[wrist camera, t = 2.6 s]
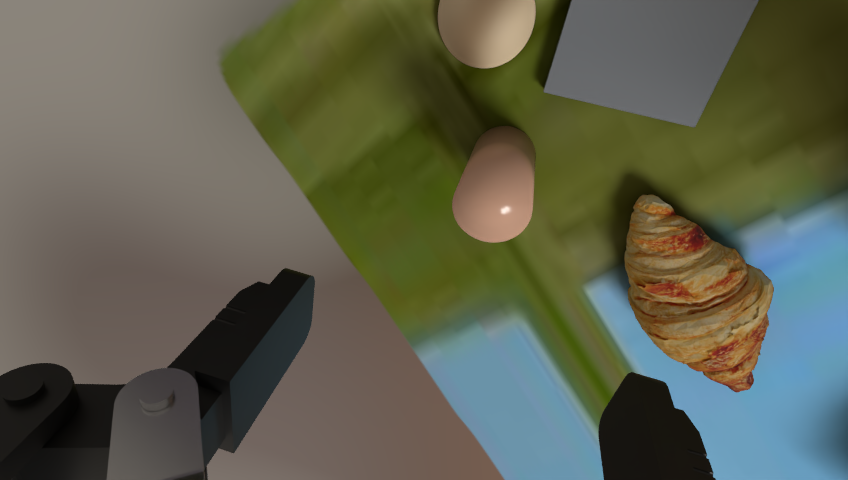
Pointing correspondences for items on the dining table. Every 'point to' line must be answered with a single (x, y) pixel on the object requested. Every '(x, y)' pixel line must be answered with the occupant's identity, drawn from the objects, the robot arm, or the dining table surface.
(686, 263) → the croissant
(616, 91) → the slate board
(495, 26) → the cork coaster
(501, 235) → the pinkish tan rounded cylinder
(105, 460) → the robot arm
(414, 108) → the dining table surface
